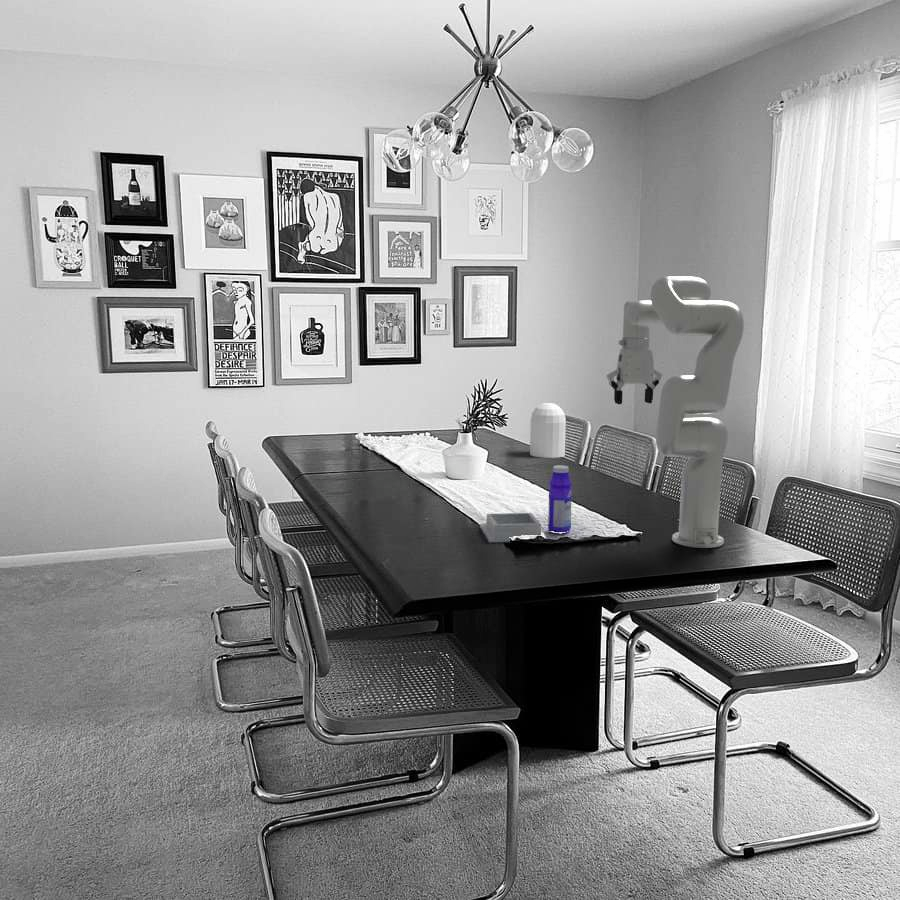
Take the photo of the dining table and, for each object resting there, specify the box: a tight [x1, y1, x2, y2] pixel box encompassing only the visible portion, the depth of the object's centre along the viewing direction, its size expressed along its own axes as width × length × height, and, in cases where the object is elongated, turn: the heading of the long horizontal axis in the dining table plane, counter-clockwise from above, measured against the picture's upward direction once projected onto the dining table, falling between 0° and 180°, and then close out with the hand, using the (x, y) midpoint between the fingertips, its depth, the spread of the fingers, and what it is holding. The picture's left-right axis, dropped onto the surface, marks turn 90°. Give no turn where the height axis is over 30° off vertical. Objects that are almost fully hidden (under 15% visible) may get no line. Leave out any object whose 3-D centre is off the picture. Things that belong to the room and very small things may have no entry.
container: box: [529, 402, 567, 459], centre depth 352 cm, size 14×13×20 cm
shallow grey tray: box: [479, 512, 542, 543], centre depth 239 cm, size 15×15×4 cm
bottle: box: [547, 464, 573, 533], centre depth 240 cm, size 7×6×17 cm
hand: (633, 403), depth 269 cm, fingers open, 9 cm apart
